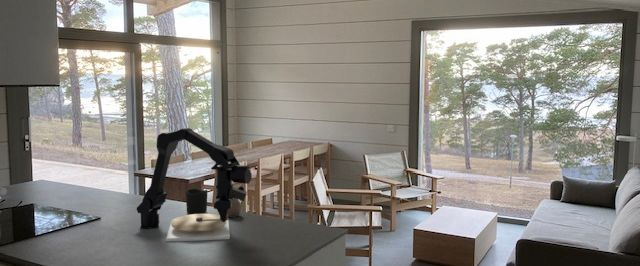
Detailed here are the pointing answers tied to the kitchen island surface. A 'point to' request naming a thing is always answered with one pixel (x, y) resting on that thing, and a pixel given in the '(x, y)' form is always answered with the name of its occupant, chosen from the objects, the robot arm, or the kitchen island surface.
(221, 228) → the base plate
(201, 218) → the handwheel
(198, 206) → the pen holder
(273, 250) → the kitchen island surface
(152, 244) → the kitchen island surface
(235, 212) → the vase
